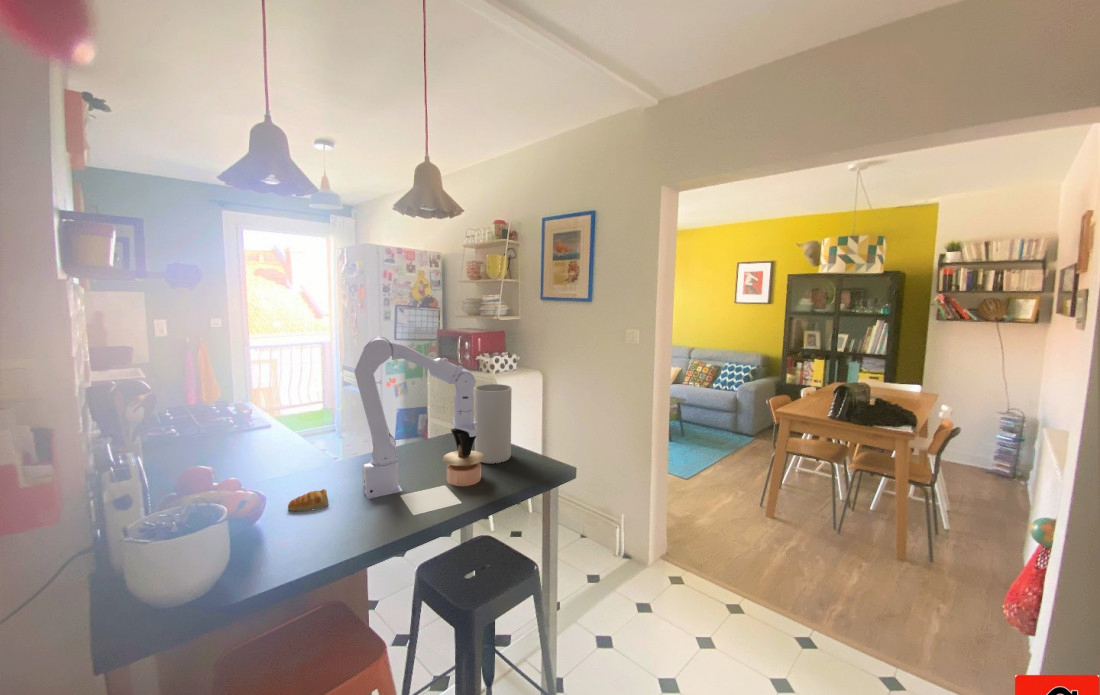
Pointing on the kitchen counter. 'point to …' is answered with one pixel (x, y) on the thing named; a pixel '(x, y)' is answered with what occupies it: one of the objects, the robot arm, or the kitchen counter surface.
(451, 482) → the bowl
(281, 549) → the kitchen counter surface
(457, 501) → the mat
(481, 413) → the cylinder vase
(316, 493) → the pastry
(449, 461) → the lid
